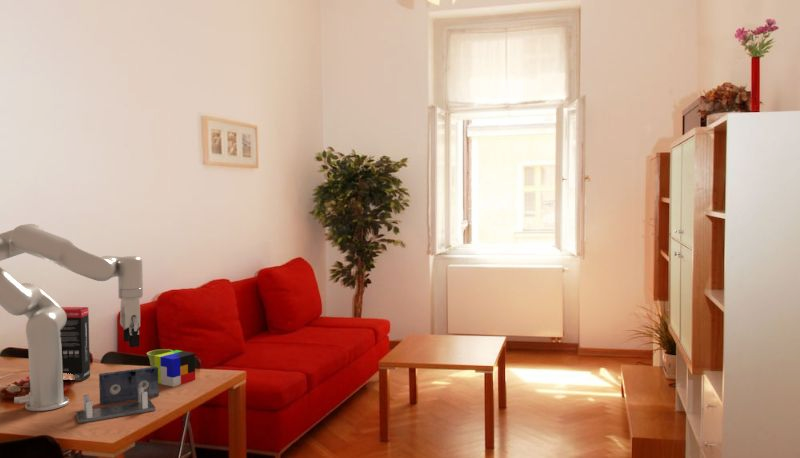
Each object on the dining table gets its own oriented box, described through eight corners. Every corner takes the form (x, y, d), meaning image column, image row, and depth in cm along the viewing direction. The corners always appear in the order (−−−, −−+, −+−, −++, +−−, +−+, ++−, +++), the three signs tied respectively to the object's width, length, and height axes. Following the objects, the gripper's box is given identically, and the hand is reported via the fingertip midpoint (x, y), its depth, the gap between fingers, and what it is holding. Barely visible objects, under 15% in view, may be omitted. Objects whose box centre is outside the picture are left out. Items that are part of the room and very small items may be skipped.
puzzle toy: (173, 386, 235) (172, 359, 234) (155, 382, 240) (154, 355, 240) (195, 380, 243) (194, 353, 243) (177, 376, 249) (176, 350, 248)
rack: (79, 423, 197) (78, 404, 197) (75, 415, 205) (75, 396, 205) (155, 410, 209) (154, 392, 209) (149, 402, 217) (149, 385, 216)
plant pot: (141, 376, 248) (141, 353, 248) (159, 370, 257) (159, 348, 256) (161, 378, 245) (160, 355, 244) (178, 372, 253) (178, 350, 253)
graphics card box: (92, 376, 248) (89, 305, 247) (83, 381, 241) (81, 308, 240) (46, 377, 248) (43, 305, 246) (36, 382, 241) (33, 309, 239)
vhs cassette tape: (157, 394, 226) (157, 366, 226) (159, 396, 224) (158, 368, 223) (99, 403, 217) (98, 373, 217) (100, 405, 215) (99, 375, 214)
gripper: (114, 290, 225) (114, 340, 226) (123, 297, 210) (124, 350, 211) (137, 289, 229) (138, 337, 230) (147, 296, 214) (148, 347, 215)
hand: (131, 343), depth 220 cm, fingers open, 9 cm apart
